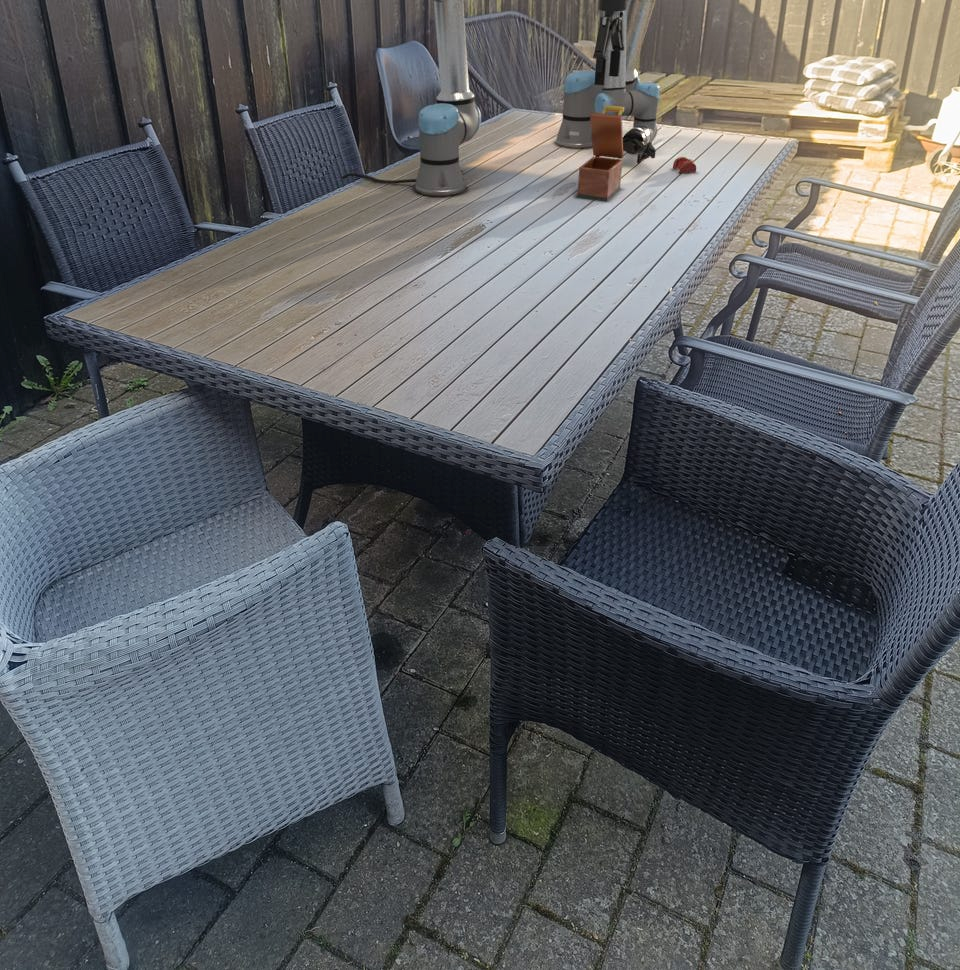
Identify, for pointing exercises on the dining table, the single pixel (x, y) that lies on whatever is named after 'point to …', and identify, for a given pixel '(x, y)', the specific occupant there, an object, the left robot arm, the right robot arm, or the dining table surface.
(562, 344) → the dining table surface
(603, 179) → the chest
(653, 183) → the dining table surface
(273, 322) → the dining table surface
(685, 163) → the dental model
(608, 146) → the lid
